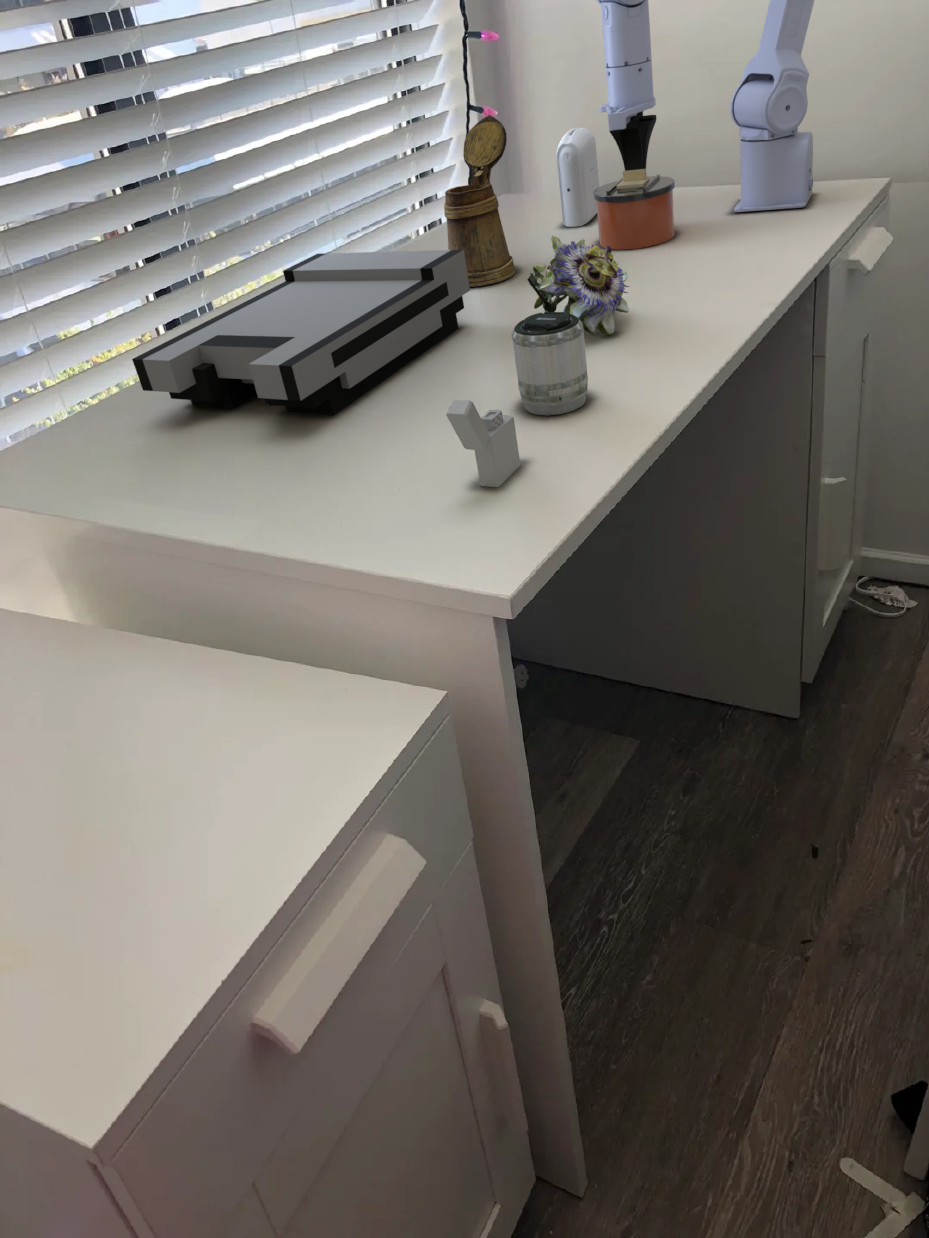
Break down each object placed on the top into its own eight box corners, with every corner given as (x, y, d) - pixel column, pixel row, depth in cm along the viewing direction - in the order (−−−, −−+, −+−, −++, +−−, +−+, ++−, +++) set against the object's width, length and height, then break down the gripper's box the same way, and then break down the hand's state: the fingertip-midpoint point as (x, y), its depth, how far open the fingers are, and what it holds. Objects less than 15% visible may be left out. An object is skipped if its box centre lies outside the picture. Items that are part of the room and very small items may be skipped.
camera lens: (573, 419, 88) (563, 331, 84) (509, 415, 91) (497, 330, 87) (600, 391, 92) (593, 306, 88) (539, 388, 95) (529, 306, 91)
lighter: (502, 463, 83) (488, 369, 78) (521, 464, 82) (507, 370, 77) (461, 503, 78) (443, 405, 73) (481, 505, 77) (464, 407, 72)
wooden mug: (538, 256, 137) (522, 110, 127) (499, 287, 127) (477, 132, 117) (480, 258, 140) (459, 118, 131) (437, 289, 131) (411, 139, 121)
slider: (649, 182, 132) (648, 168, 131) (643, 187, 130) (642, 173, 129) (622, 184, 134) (621, 171, 133) (616, 190, 131) (615, 176, 131)
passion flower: (610, 382, 108) (589, 315, 97) (522, 360, 113) (493, 293, 102) (652, 296, 110) (636, 221, 100) (563, 277, 115) (539, 204, 104)
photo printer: (588, 226, 146) (580, 134, 139) (559, 228, 148) (550, 137, 141) (604, 208, 154) (597, 120, 147) (577, 211, 156) (569, 124, 149)
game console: (154, 423, 104) (127, 347, 100) (332, 320, 126) (317, 253, 122) (310, 437, 94) (288, 352, 90) (474, 322, 116) (463, 249, 112)
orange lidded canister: (684, 226, 137) (682, 170, 134) (666, 247, 130) (663, 189, 126) (609, 231, 142) (605, 177, 138) (587, 252, 134) (582, 196, 130)
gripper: (613, 59, 132) (621, 168, 140) (580, 77, 122) (591, 195, 129) (666, 51, 129) (671, 164, 137) (637, 69, 119) (644, 190, 126)
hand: (636, 178), depth 133 cm, fingers closed, pressing on slider
